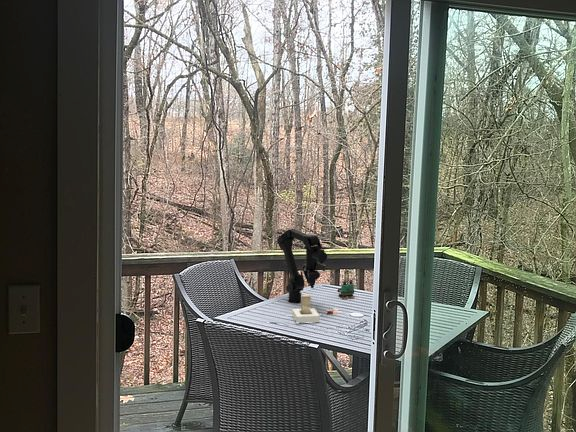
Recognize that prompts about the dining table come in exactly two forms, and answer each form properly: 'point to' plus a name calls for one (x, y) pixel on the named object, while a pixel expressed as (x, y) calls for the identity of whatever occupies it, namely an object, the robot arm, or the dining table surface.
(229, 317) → the dining table surface
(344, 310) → the dining table surface
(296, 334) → the dining table surface
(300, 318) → the square ring frame
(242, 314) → the dining table surface
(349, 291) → the green boxy toy
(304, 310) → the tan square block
